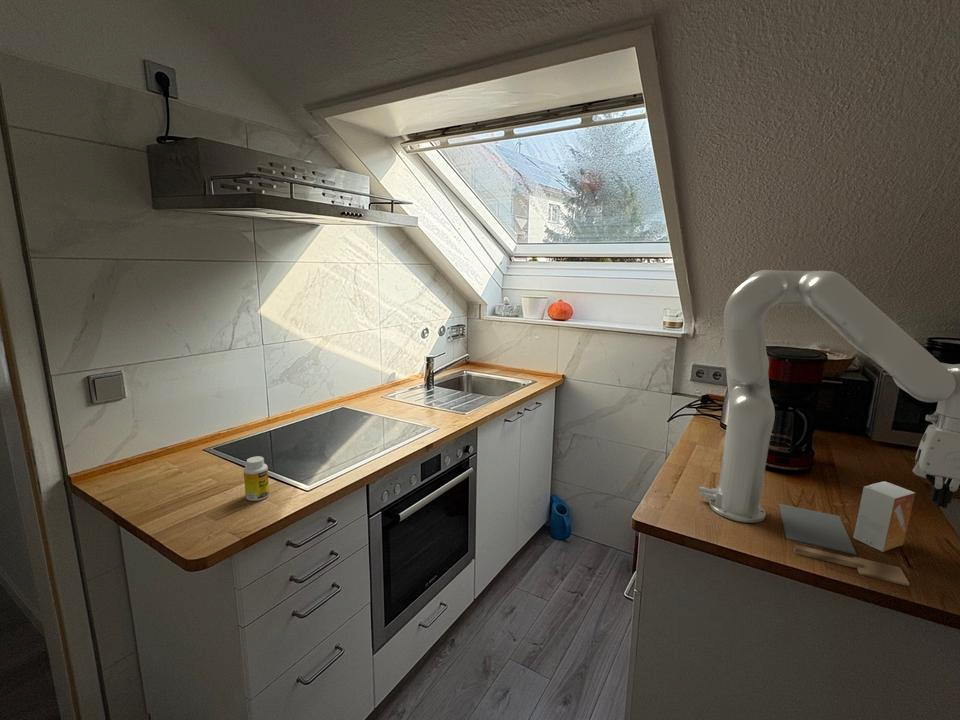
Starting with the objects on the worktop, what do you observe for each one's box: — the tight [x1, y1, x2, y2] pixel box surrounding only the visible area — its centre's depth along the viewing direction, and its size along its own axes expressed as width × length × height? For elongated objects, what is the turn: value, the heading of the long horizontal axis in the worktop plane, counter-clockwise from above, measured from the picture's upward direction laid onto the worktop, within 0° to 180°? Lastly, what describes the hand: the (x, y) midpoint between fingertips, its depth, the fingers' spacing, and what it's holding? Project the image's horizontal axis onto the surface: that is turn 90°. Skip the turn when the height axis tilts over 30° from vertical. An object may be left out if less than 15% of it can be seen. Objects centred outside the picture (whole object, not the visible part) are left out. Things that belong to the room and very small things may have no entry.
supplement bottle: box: [243, 455, 270, 502], centre depth 123 cm, size 6×6×10 cm
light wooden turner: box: [793, 544, 911, 587], centre depth 102 cm, size 19×6×1 cm, turn 64°
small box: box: [853, 481, 916, 553], centre depth 110 cm, size 8×6×13 cm
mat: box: [778, 503, 857, 556], centre depth 116 cm, size 13×18×1 cm
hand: (938, 504), depth 105 cm, fingers closed
